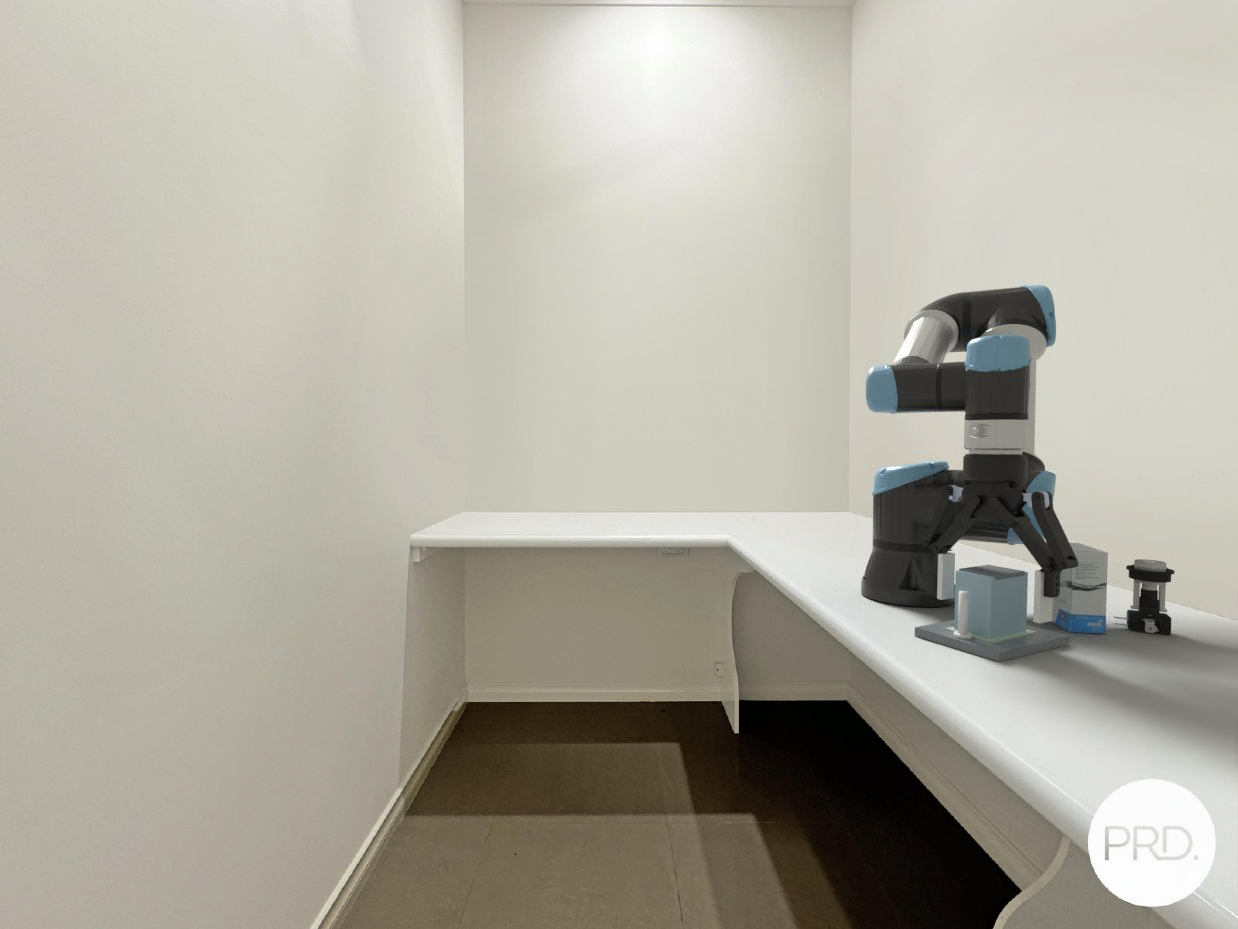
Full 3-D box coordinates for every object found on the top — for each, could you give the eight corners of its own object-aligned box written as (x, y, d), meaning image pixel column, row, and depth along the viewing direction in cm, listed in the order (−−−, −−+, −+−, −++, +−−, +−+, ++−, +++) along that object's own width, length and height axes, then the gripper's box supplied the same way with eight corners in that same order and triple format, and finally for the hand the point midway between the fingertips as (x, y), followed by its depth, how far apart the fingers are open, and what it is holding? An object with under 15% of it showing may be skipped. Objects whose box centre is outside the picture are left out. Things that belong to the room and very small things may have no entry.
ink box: (1107, 635, 92) (1110, 551, 92) (1068, 632, 93) (1070, 550, 93) (1077, 618, 100) (1080, 542, 100) (1042, 616, 101) (1044, 540, 101)
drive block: (953, 629, 90) (955, 569, 89) (990, 621, 93) (991, 564, 93) (990, 639, 85) (991, 576, 85) (1026, 631, 89) (1028, 570, 89)
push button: (1116, 631, 93) (1118, 562, 93) (1109, 622, 98) (1112, 556, 98) (1176, 638, 90) (1179, 566, 90) (1166, 629, 95) (1169, 560, 95)
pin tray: (914, 635, 91) (915, 584, 91) (982, 622, 98) (984, 574, 98) (998, 661, 81) (1000, 603, 80) (1068, 644, 87) (1070, 590, 87)
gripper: (897, 451, 98) (894, 592, 98) (1079, 454, 76) (1074, 637, 76) (931, 450, 101) (928, 587, 102) (1115, 454, 79) (1109, 629, 80)
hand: (990, 609), depth 89 cm, fingers open, 13 cm apart
